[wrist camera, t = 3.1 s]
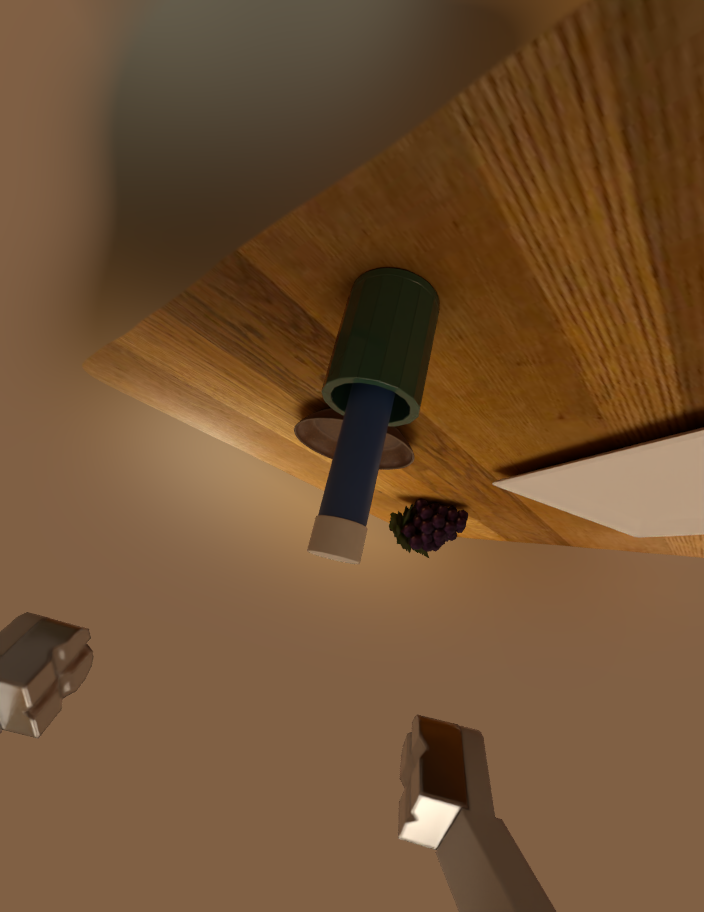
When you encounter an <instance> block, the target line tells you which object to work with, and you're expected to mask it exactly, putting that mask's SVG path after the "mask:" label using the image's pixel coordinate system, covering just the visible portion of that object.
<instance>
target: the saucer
mask: <svg viewBox="0 0 704 912" xmlns="http://www.w3.org/2000/svg"><path fill="white" fill-rule="evenodd" d="M343 418H344V416H343V415H341V414H340V413H338V412H336V411H334V410H333V409H332V408H330V409H324V410H321V411H318V412H316V413H313V414H311V415H309V416H307V417H306V418H304V419H303V420H301V421H300V422H299V423H298V424H297V425H296V426H295V428H294V432H295V435H296V437H297V438H298V439H299V440H300V441H301V442H302V443H303V444H304V445H306V446H307V447H309V448H310V449H312V450H313V451H315V452H317V453H319V454H321V455H323V456H326V457H328V458H331V459H333V456H334V453H335V449H336V445H337V441H338V437H339V433H340V429H341V426H342V422H343ZM413 461H414V454H413V451H412V449H411V447H410V445H409V443H408V441H407V440H406V439H405V437H404V436H403V435H402V433H401V432H400V431H399V430H398V429H397V428H396V427H395V426H388V429H387V433H386V438H385V443H384V447H383V452H382V456H381V461H380V465H379V469H385V470H389V469H400V468H404V467H407V466H409V465H410V464H411V463H412V462H413Z"/></svg>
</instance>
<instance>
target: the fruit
mask: <svg viewBox="0 0 704 912" xmlns="http://www.w3.org/2000/svg"><path fill="white" fill-rule="evenodd" d="M428 505H429V504H428V503H427V502H426V500H424V499H418V500H417V501H416V503H415V504H414V506H413V505H411V507H410V509H408V508H407V506H406V507H405V511H404V513H403V515H402V513H401V512H399V511H398V514H396V513H391V514H390V515H391V517H390V518H391V521H389V522H390V524H389V528H390V531H393V533H394V536H395V537H396V538H397V544H401V546H402V548H403V549H406V551H407V549H408V551H409V553H410V551H411V548H412V549H413V550H415V551H416V552H417V553H418V552H419V553H420V554H421V553H422V555H423V554H424V556H426V557H428V558H429V556H428V553H427V552H428V551H432V550H433V551H437V550H438V549H439V548H440V547H441V546H442V545H443V544H445V541H448V540H451V541H453V540H455V539H456V537H457V533H456V532H458V533H462V532H463V530H464V529H465V527H466V522H467V521H466V520H467V519H468V513H467V512H466V511H464V510H460V511H458V512H457V509H456V507H455V506H453V505H452V506H450V507H449V508H448V507H447V506H445V505H440V504H438V503H435V502H434V503H433V504H431V505H430V506H429V507H428Z"/></svg>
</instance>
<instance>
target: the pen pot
mask: <svg viewBox="0 0 704 912" xmlns="http://www.w3.org/2000/svg"><path fill="white" fill-rule="evenodd" d="M439 307H440V303H439V298H438V295H437V293H436V291H435V290H434V288H433V287H432V286H431V285H430V284H429V283H428V282H427V281H426V280H424V279H423V278H421V277H420V276H418V275H416V274H414V273H412V272H409V271H406V270H402V269H397V268H379V269H374V270H371V271H368V272H366V273H364V274H363V275H361V276H360V277H359V278H358V279H357V280H356V281H355V282H354V284H353V285H352V288H351V291H350V294H349V297H348V299H347V303H346V306H345V310H344V313H343V317H342V320H341V324H340V327H339V331H338V334H337V338H336V341H335V345H334V349H333V352H332V356H331V359H330V363H329V366H328V370H327V373H326V377H325V380H324V384H323V387H322V395H323V399H324V401H325V402H326V403H327V404H328V405H329V406H330V407H331V408H332V409H333V410H334V411H336V412H338V413H340V414H341V415H343V416H344V414H345V410H346V406H347V402H348V399H349V395H350V391H351V387H352V383H365V384H371V385H377V386H380V387H382V388H385V389H388V390H390V391H393V392H395V397H394V402H393V406H392V411H391V415H390V420H389V424H388V426H400V425H405V424H409V423H411V422H412V421H413V420H415V419H416V418H418V416H419V412H420V406H421V401H422V396H423V391H424V386H425V381H426V375H427V370H428V365H429V360H430V355H431V350H432V345H433V339H434V334H435V329H436V324H437V319H438V313H439Z"/></svg>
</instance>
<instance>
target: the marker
mask: <svg viewBox="0 0 704 912" xmlns="http://www.w3.org/2000/svg"><path fill="white" fill-rule="evenodd" d="M394 397H395V392H393V391H390V390H388V389H385V388H382V387H380V386H377V385H371V384H365V383H352V387H351V391H350V395H349V399H348V402H347V406H346V410H345V414H344V418H343V422H342V426H341V429H340V433H339V437H338V441H337V445H336V449H335V453H334V456H333V460H332V464H331V468H330V472H329V476H328V480H327V483H326V487H325V491H324V495H323V499H322V503H321V507H320V510H319V514H318V516H316V519H315V523H314V527H313V531H312V534H311V538H310V542H309V546H308V549H307V551H308V552H309V553H312V554H314V555H318V556H321V557H325V558H328V559H332V560H337V561H341V562H346V563H352V564H360V561H361V556H362V551H363V547H364V542H365V538H366V533H367V528H366V525H367V520H368V515H369V511H370V507H371V502H372V497H373V493H374V488H375V484H376V479H377V475H378V470H379V465H380V461H381V456H382V452H383V447H384V443H385V438H386V433H387V429H388V424H389V420H390V415H391V411H392V406H393V402H394Z"/></svg>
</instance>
